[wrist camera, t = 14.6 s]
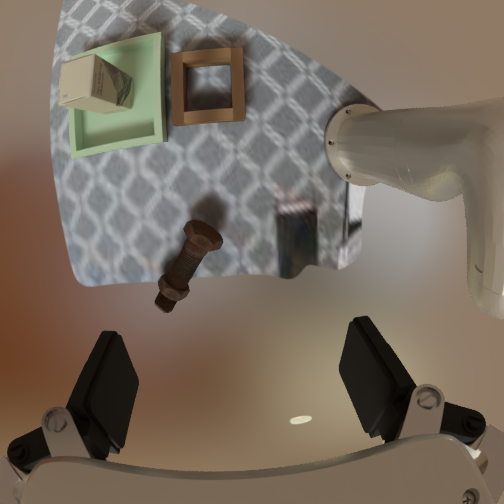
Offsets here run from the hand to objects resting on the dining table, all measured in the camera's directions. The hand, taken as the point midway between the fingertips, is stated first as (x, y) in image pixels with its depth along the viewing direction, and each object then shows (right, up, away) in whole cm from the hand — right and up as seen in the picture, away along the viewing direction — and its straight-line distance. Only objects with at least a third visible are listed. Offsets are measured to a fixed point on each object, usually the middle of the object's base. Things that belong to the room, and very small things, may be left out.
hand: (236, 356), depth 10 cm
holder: (-5, +26, +21) cm, 34 cm away
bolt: (-10, +2, +31) cm, 33 cm away
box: (-18, +26, +20) cm, 37 cm away
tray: (-18, +26, +20) cm, 38 cm away
